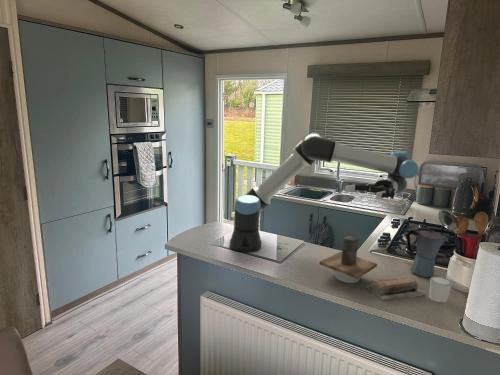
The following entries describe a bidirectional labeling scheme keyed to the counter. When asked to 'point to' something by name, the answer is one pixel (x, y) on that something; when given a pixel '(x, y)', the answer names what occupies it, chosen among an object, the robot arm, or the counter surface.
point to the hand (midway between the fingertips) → (360, 192)
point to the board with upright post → (349, 260)
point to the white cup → (439, 289)
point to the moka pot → (425, 251)
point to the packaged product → (395, 288)
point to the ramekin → (345, 277)
